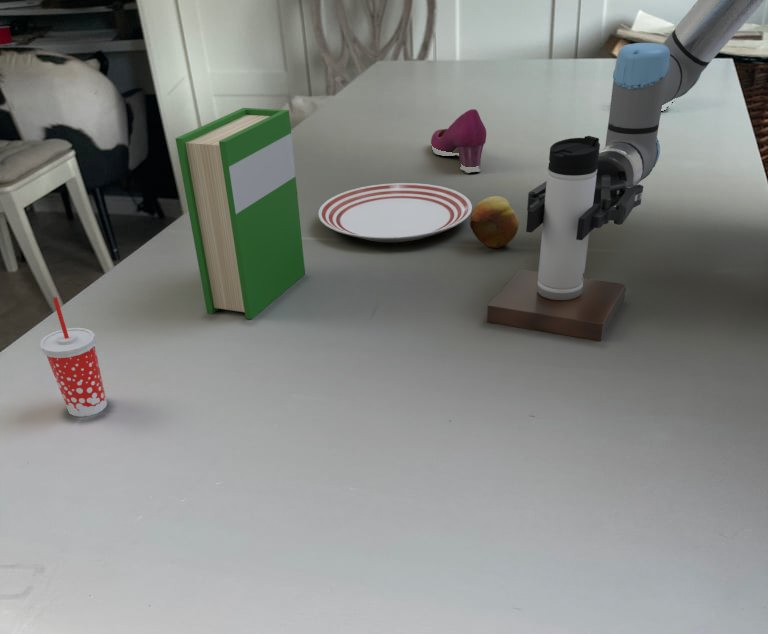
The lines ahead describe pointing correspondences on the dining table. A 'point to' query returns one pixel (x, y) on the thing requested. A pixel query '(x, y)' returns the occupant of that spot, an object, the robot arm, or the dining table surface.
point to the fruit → (494, 222)
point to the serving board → (557, 307)
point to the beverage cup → (75, 367)
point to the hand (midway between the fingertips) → (554, 225)
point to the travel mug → (566, 216)
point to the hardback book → (243, 208)
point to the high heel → (463, 138)
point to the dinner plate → (395, 211)
